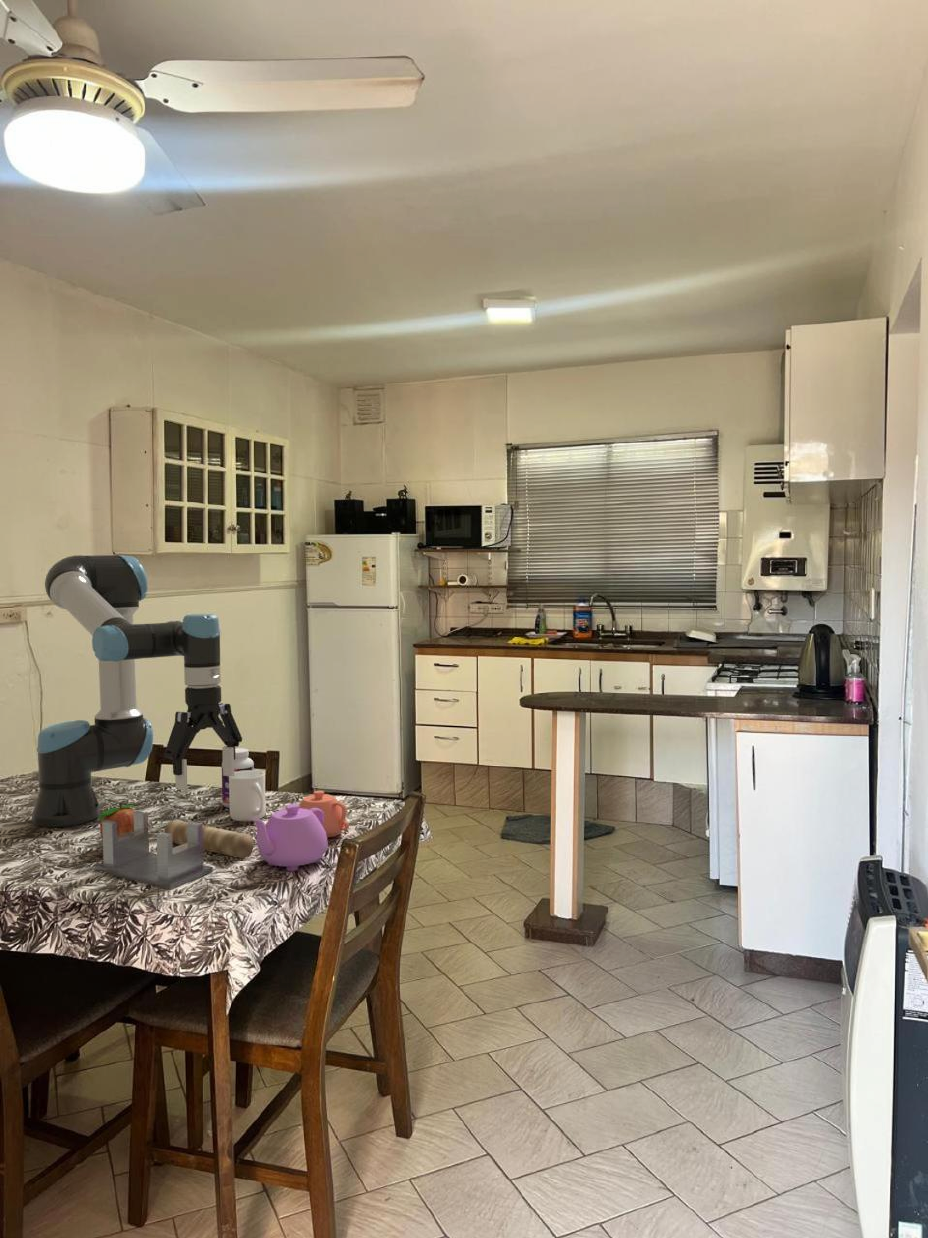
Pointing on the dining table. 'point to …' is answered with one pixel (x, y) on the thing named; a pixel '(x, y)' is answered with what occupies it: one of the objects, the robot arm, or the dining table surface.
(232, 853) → the baguette
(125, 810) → the fruit
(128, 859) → the bracket stand
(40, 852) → the dining table surface
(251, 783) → the mug
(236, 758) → the pill bottle
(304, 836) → the teapot
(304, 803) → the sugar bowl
